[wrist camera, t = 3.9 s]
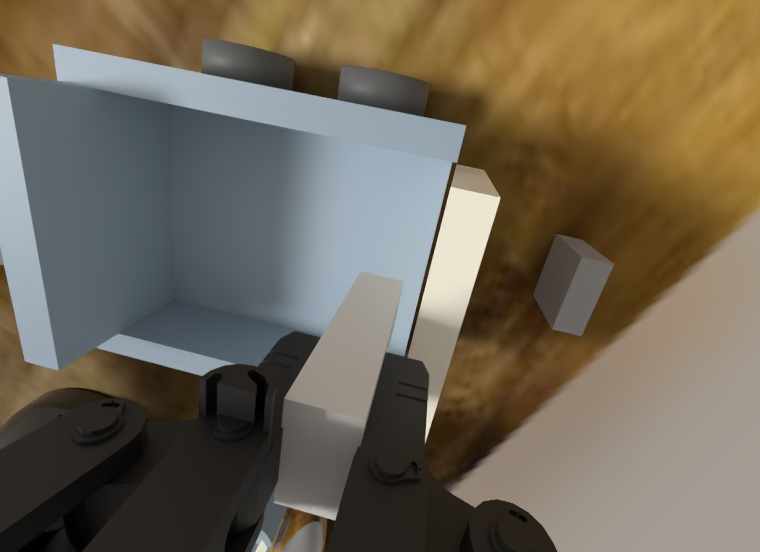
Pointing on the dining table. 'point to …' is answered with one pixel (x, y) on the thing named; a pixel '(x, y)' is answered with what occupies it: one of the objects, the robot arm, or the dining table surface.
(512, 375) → the dining table surface
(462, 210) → the tailgate
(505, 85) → the dining table surface
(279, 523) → the beer glass
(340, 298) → the trailer
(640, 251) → the dining table surface
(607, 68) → the dining table surface
